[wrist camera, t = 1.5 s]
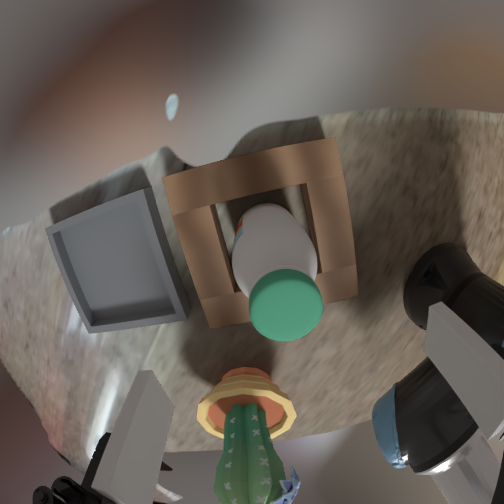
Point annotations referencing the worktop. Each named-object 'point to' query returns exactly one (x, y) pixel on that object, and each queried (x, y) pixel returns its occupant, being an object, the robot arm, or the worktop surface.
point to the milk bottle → (277, 272)
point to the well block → (252, 182)
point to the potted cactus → (249, 437)
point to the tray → (119, 265)
